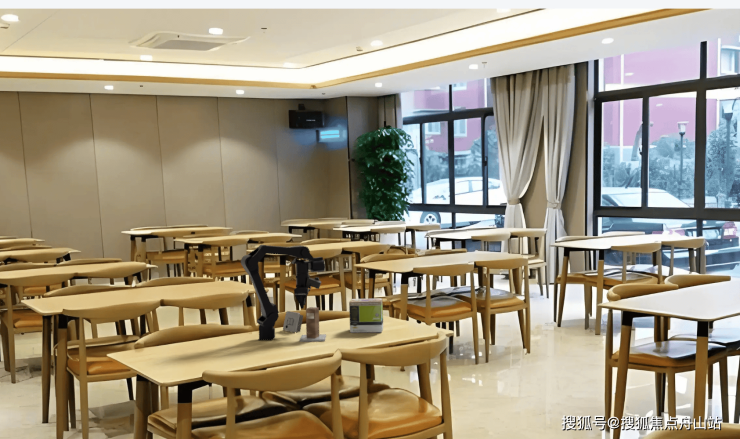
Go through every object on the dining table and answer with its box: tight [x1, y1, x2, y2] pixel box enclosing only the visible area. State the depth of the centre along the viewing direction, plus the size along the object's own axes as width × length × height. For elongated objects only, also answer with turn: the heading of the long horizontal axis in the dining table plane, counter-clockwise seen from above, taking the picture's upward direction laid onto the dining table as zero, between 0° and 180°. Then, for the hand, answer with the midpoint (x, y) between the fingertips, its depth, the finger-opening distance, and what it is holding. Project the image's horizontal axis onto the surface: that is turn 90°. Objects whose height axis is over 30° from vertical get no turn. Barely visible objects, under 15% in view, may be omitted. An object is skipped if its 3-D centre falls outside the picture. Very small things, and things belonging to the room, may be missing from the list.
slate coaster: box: [299, 333, 327, 343], centre depth 321 cm, size 11×11×1 cm
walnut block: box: [305, 306, 320, 338], centre depth 320 cm, size 4×5×13 cm
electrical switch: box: [282, 310, 304, 333], centre depth 340 cm, size 9×5×9 cm, turn 46°
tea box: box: [348, 297, 384, 333], centre depth 337 cm, size 15×10×15 cm
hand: (303, 306), depth 329 cm, fingers open, 9 cm apart
